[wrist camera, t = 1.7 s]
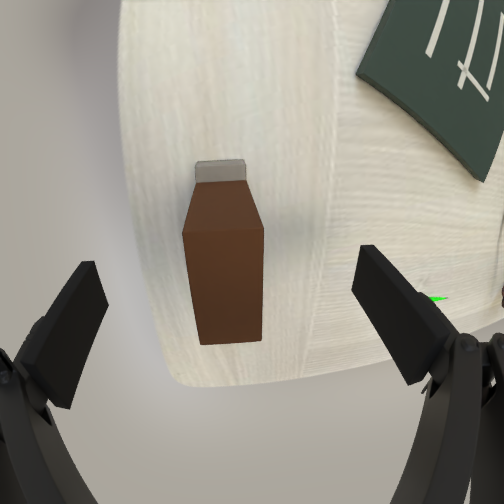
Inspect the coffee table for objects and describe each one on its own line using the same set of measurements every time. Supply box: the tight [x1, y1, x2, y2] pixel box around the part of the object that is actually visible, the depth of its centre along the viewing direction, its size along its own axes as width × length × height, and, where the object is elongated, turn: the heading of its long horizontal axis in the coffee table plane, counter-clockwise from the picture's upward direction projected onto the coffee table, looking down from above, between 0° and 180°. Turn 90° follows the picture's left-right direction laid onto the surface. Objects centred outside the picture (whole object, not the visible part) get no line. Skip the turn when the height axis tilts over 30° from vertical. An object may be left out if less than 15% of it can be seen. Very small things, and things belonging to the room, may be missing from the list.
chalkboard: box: [356, 0, 504, 183], centre depth 11 cm, size 26×16×1 cm, turn 156°
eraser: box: [182, 160, 264, 345], centre depth 15 cm, size 8×3×8 cm, turn 0°
